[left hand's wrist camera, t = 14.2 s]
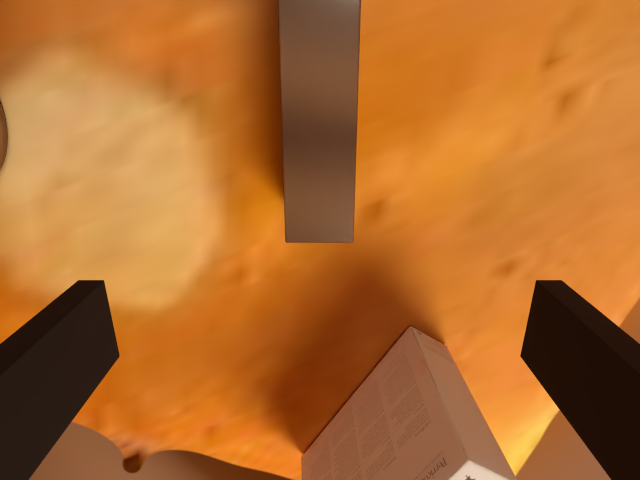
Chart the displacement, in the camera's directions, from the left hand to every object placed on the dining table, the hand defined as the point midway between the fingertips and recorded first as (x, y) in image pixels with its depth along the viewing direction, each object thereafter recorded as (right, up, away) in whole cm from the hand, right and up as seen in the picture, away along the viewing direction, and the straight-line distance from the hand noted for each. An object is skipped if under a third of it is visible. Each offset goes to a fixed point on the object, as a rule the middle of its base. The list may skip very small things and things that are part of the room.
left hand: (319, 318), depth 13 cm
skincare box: (+6, -15, +32) cm, 36 cm away
